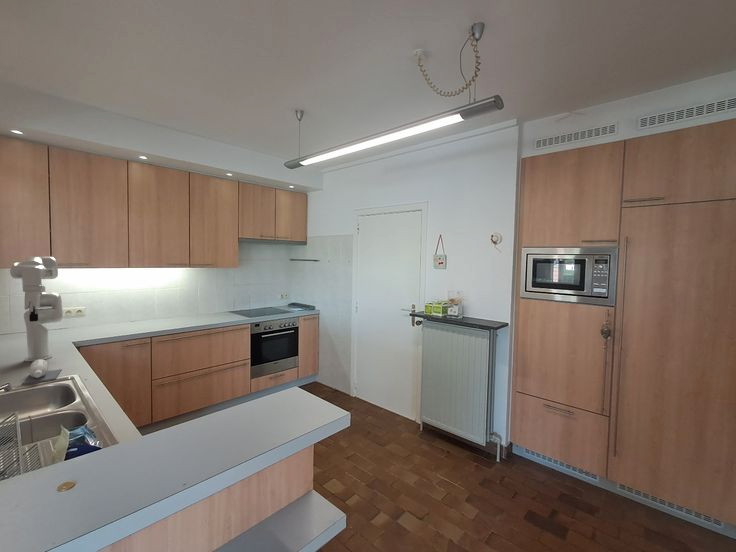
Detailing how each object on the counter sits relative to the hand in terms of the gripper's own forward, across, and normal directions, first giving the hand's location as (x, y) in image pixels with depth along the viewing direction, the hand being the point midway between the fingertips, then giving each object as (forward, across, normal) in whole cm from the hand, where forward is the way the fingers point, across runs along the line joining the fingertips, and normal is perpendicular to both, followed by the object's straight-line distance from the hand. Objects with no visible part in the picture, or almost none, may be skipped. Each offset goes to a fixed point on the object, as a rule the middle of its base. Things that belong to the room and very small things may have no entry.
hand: (34, 320), depth 186 cm
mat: (+28, +16, +5) cm, 33 cm away
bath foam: (+24, +6, +2) cm, 25 cm away
